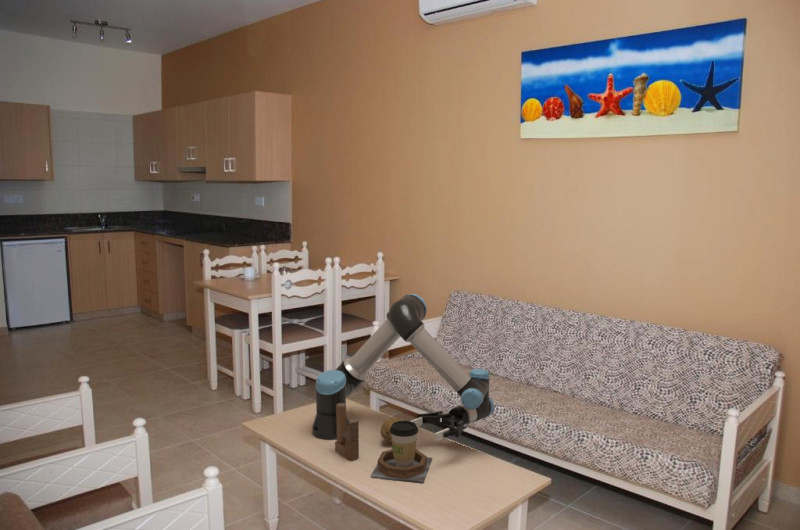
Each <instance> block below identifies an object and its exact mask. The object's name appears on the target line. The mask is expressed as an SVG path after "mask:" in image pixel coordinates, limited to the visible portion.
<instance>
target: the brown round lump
mask: <svg viewBox="0 0 800 530" xmlns="http://www.w3.org/2000/svg"><path fill="white" fill-rule="evenodd" d="M397 421H402V420H401V419H400V418H399V417H389V418H387V419H386V420H384V421H383V423H382V425H381V428H380V435H381V437H382V439H384V440H385V441H388V442H389V443H391V444H392V440H391V438H392V436H391V433H390V428H391V426H392V424H393V423H394V422H397Z"/></svg>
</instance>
